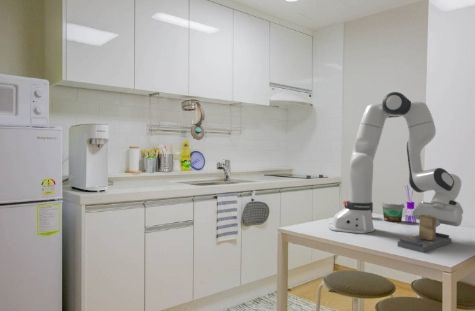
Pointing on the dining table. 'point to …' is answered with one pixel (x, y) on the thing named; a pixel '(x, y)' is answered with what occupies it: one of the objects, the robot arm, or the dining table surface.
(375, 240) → the dining table surface
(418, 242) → the fader track
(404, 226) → the dining table surface
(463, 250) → the dining table surface
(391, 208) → the food container
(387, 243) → the dining table surface
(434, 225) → the fader knob
